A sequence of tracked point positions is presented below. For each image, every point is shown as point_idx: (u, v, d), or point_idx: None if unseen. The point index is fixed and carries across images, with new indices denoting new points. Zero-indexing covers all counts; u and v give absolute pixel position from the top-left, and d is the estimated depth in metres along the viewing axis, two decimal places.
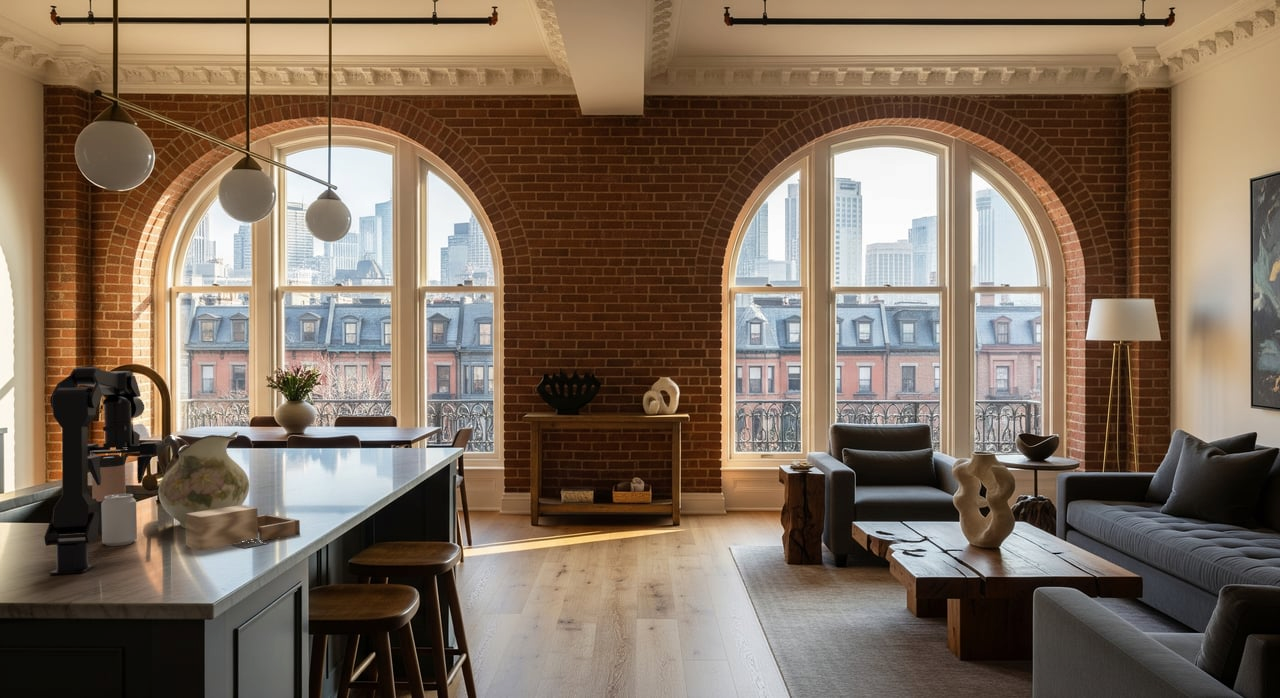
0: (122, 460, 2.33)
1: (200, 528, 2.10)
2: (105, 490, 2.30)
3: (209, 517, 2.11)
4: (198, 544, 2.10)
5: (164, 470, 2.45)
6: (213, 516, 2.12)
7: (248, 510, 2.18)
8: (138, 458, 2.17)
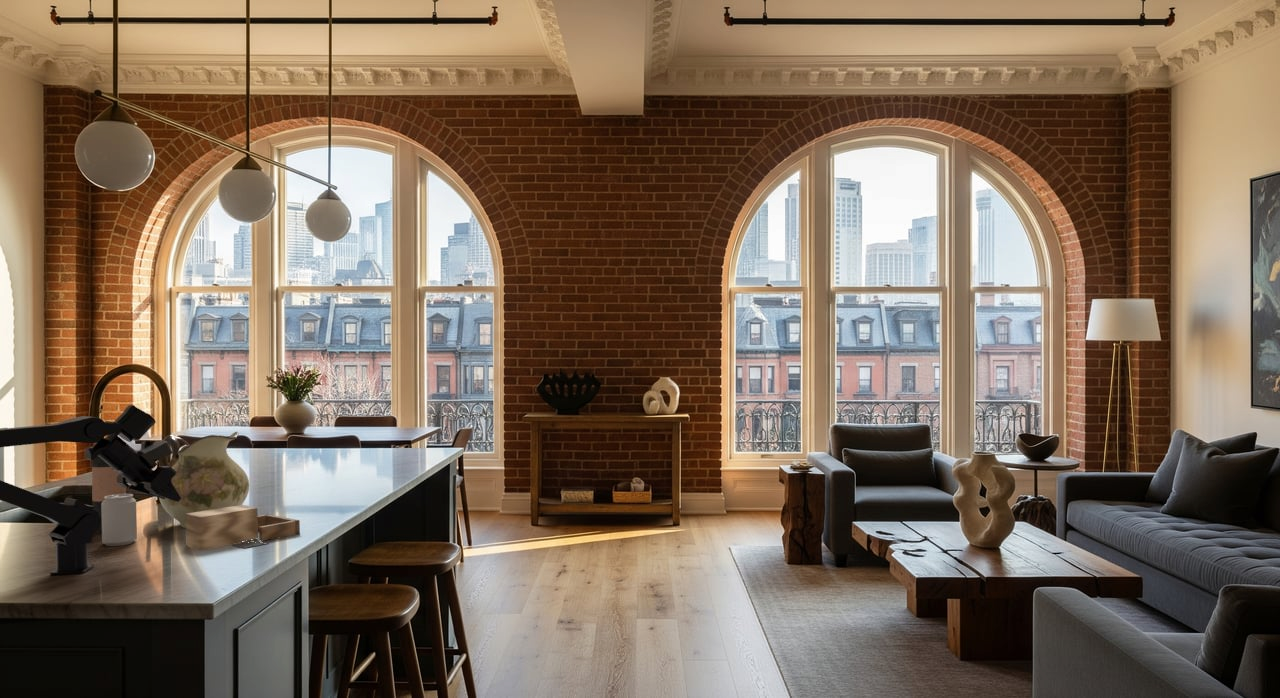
0: None
1: (200, 528, 2.10)
2: (105, 490, 2.30)
3: (209, 517, 2.11)
4: (198, 544, 2.10)
5: None
6: (213, 516, 2.12)
7: (248, 510, 2.18)
8: (151, 493, 2.00)
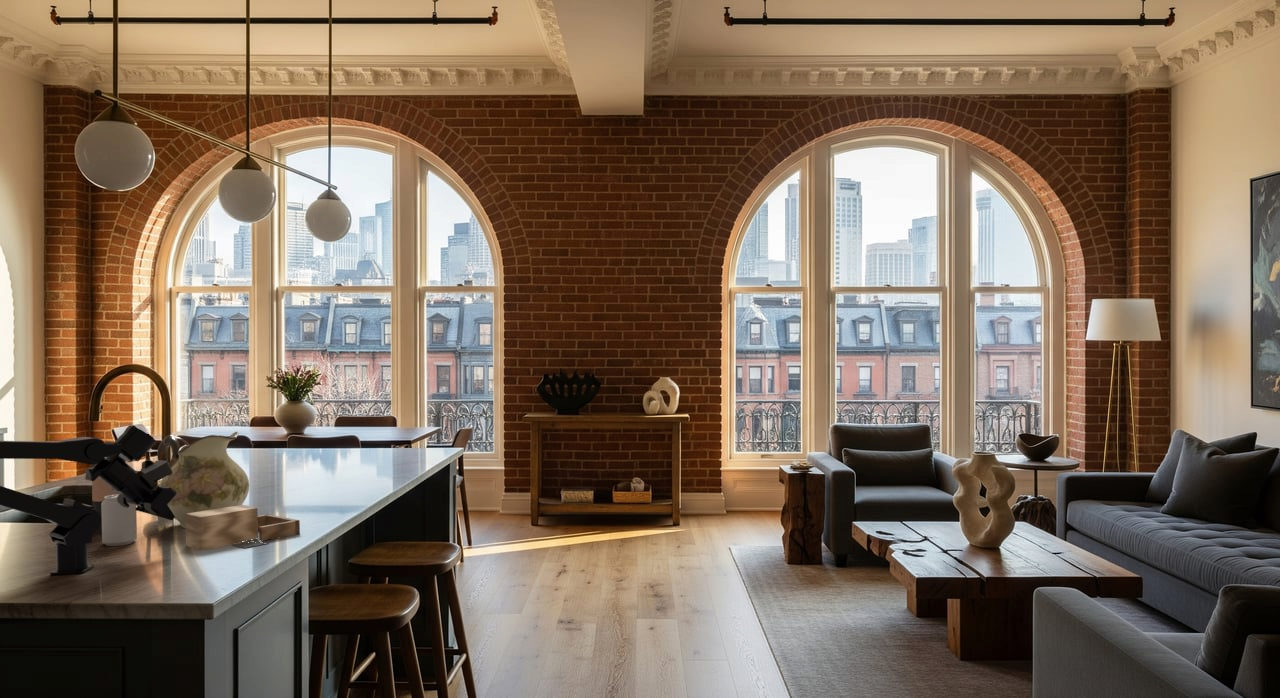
0: None
1: (200, 528, 2.10)
2: (105, 490, 2.30)
3: (209, 517, 2.11)
4: (198, 544, 2.10)
5: None
6: (213, 516, 2.12)
7: (248, 510, 2.18)
8: (144, 512, 2.02)
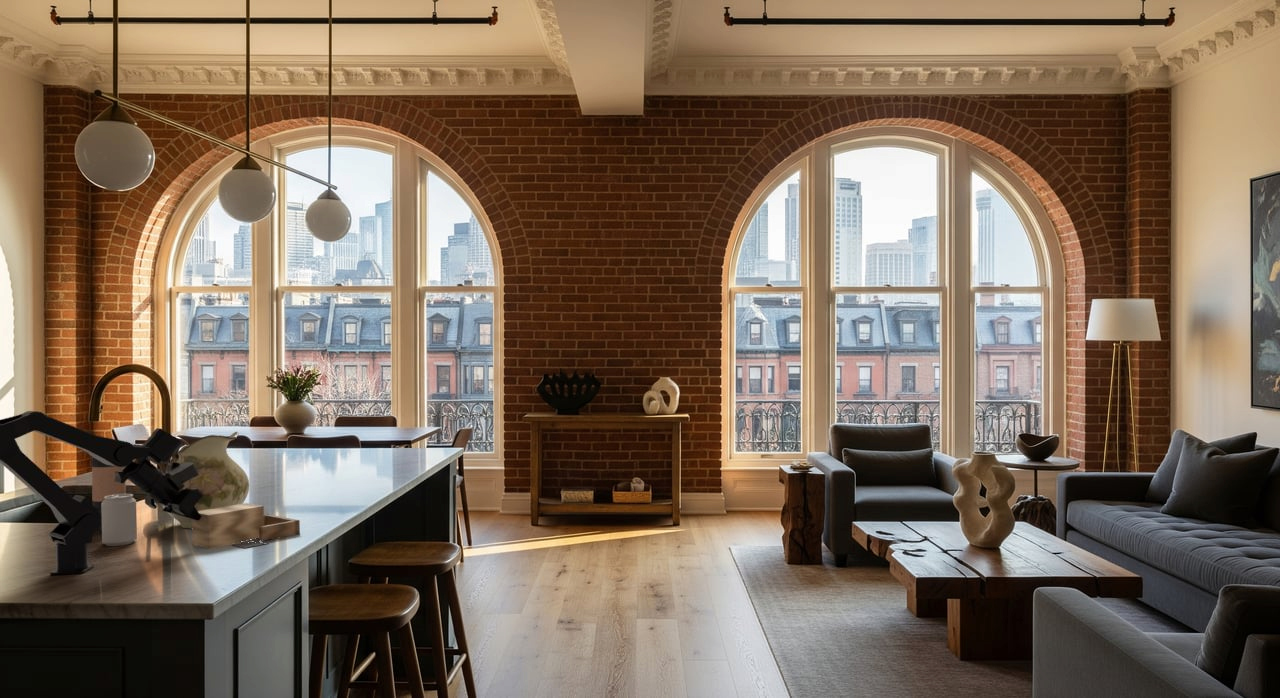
0: None
1: (207, 526, 2.11)
2: (105, 490, 2.30)
3: (216, 515, 2.12)
4: (205, 542, 2.12)
5: (164, 470, 2.45)
6: (220, 514, 2.13)
7: (254, 508, 2.20)
8: (172, 513, 2.07)
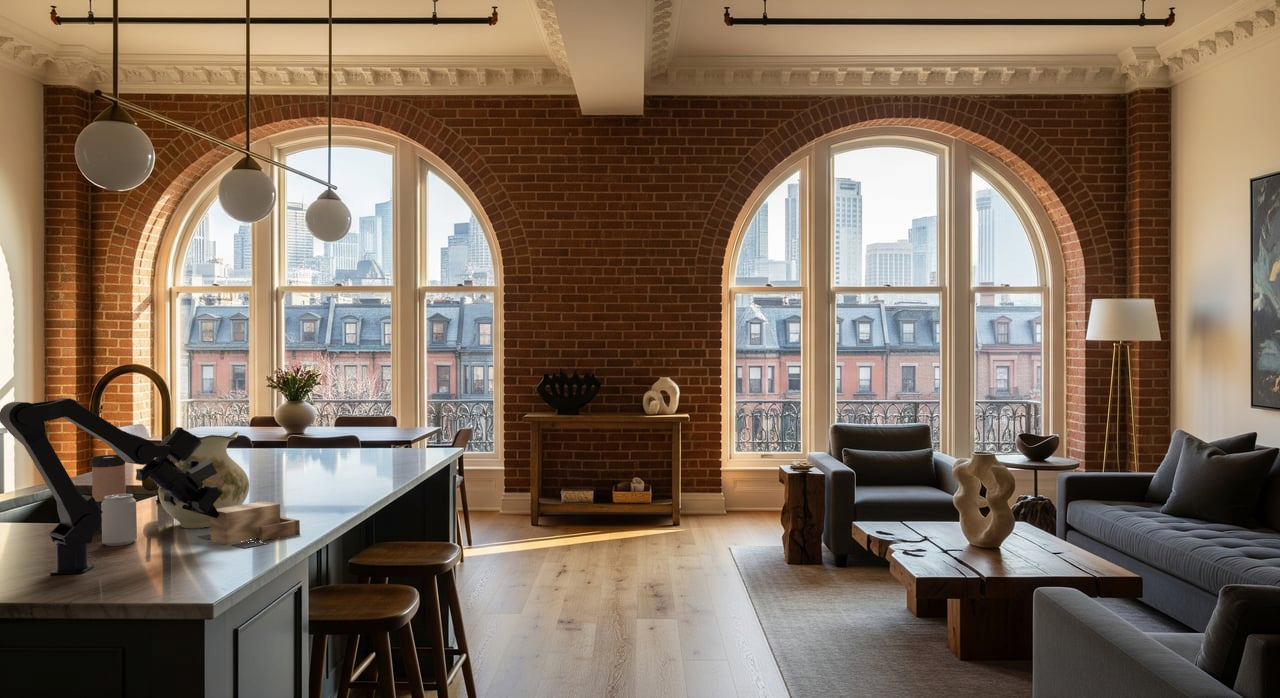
0: (122, 460, 2.33)
1: (225, 524, 2.15)
2: (105, 490, 2.30)
3: (234, 513, 2.16)
4: (223, 539, 2.15)
5: None
6: (238, 512, 2.17)
7: (271, 506, 2.24)
8: (191, 510, 2.10)
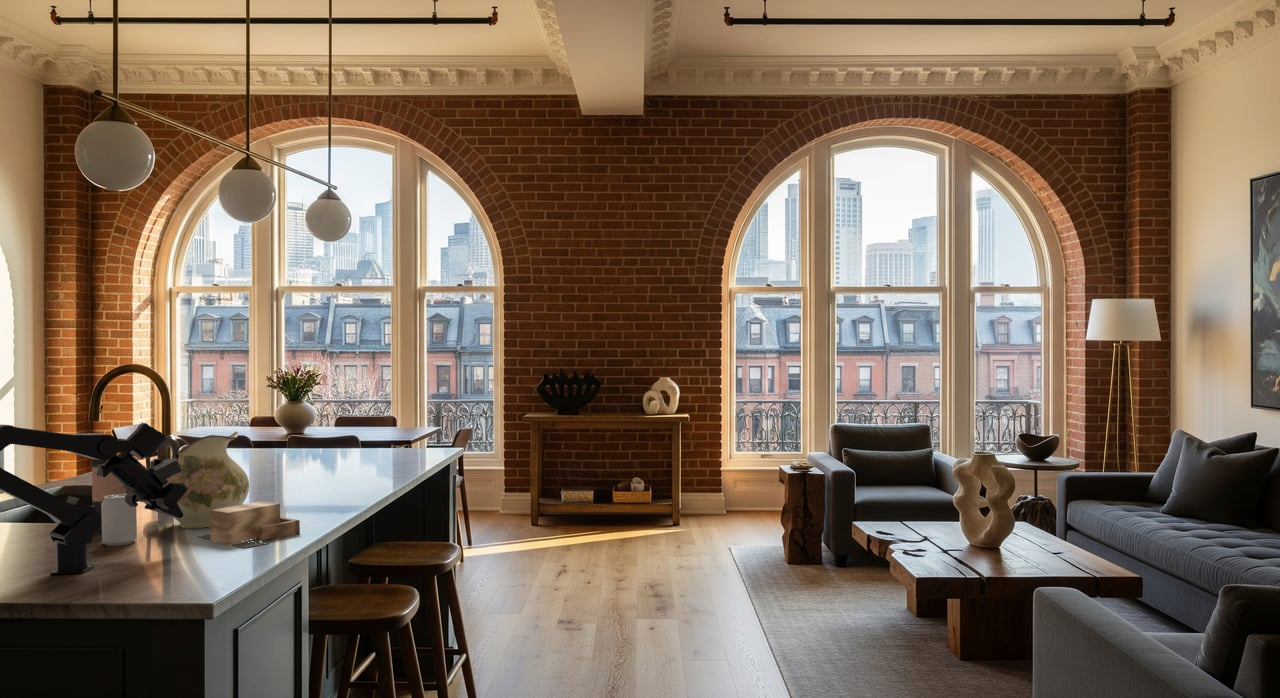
0: None
1: (226, 524, 2.15)
2: (105, 490, 2.30)
3: (235, 513, 2.16)
4: (224, 539, 2.15)
5: None
6: (239, 512, 2.17)
7: (271, 506, 2.24)
8: (155, 509, 2.04)
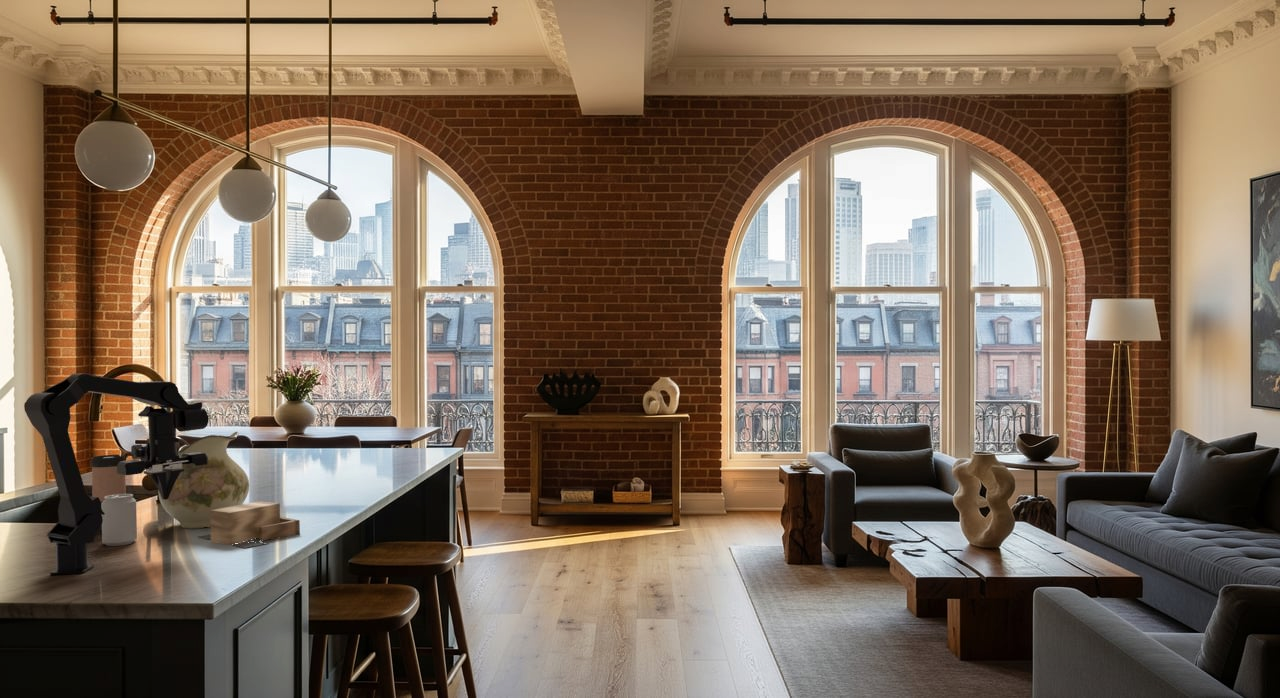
0: (122, 460, 2.33)
1: (229, 524, 2.14)
2: (105, 490, 2.30)
3: (237, 513, 2.16)
4: (226, 540, 2.15)
5: None
6: (241, 512, 2.17)
7: (271, 505, 2.24)
8: (173, 472, 2.08)
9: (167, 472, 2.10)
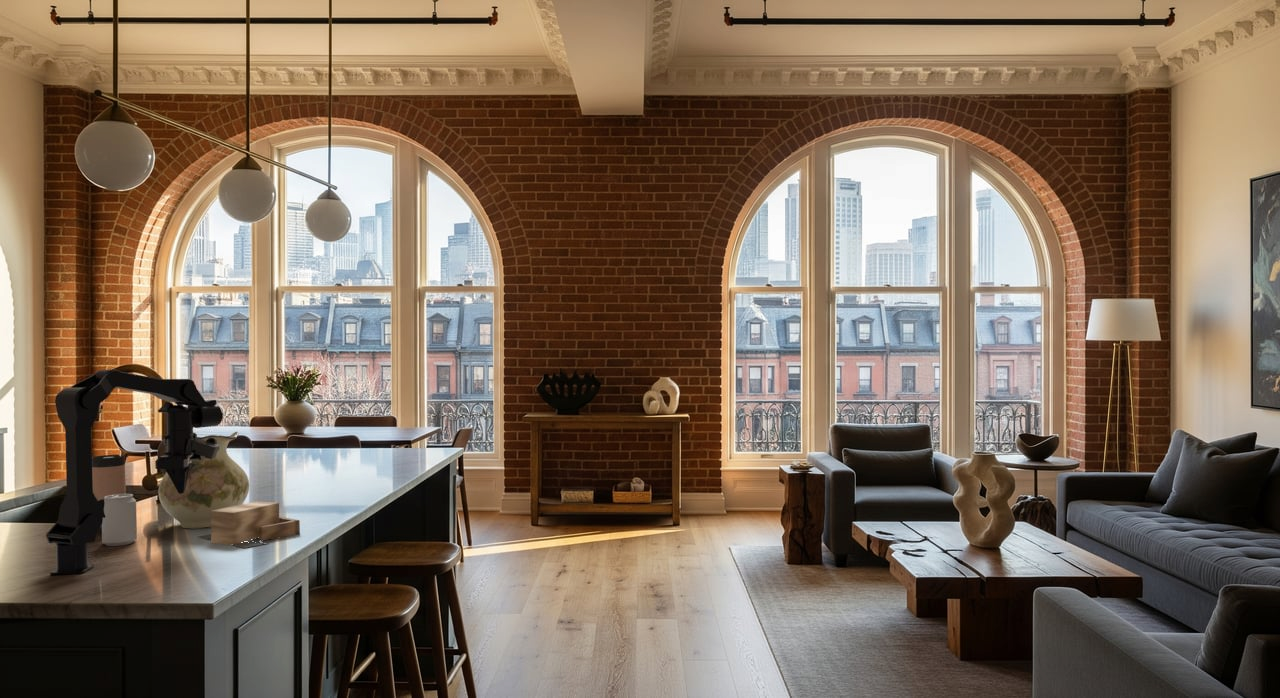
0: (122, 460, 2.33)
1: (232, 524, 2.14)
2: (105, 490, 2.30)
3: (240, 512, 2.16)
4: (229, 540, 2.15)
5: (164, 470, 2.45)
6: (244, 511, 2.17)
7: (271, 505, 2.25)
8: None
9: None
